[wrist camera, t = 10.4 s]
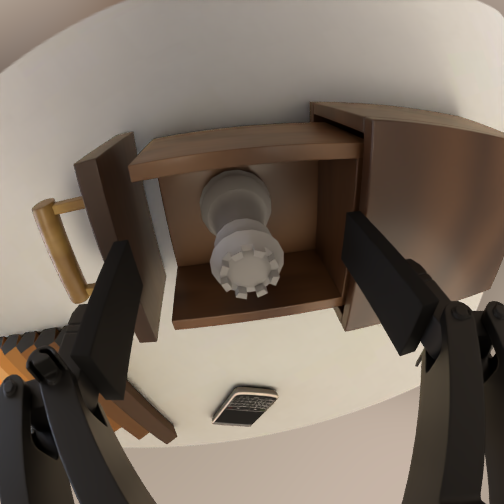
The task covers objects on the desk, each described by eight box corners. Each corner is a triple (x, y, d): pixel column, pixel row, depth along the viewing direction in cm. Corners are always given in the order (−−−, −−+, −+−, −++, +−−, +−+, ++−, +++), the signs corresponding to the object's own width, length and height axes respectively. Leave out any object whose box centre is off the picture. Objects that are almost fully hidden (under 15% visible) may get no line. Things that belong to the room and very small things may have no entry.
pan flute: (177, 425, 39) (83, 322, 25) (177, 443, 36) (75, 347, 23) (63, 426, 39) (-28, 341, 25) (61, 440, 36) (-36, 357, 23)
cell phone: (279, 386, 35) (281, 395, 34) (247, 421, 40) (248, 428, 39) (235, 382, 33) (236, 391, 32) (209, 417, 38) (210, 425, 37)
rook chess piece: (275, 219, 20) (309, 298, 13) (212, 238, 20) (216, 325, 13) (259, 158, 17) (292, 213, 11) (189, 180, 18) (178, 248, 11)
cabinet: (307, 257, 24) (344, 332, 17) (309, 101, 18) (372, 119, 10) (438, 237, 26) (490, 289, 18) (459, 116, 19) (533, 145, 12)
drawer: (98, 284, 22) (75, 345, 16) (54, 152, 16) (-1, 189, 10) (319, 255, 23) (351, 314, 18) (323, 111, 17) (375, 129, 12)
